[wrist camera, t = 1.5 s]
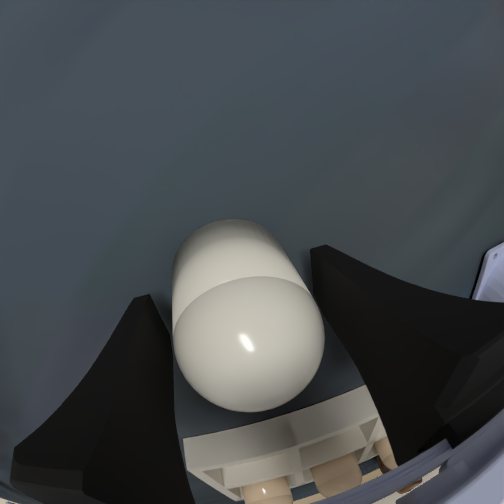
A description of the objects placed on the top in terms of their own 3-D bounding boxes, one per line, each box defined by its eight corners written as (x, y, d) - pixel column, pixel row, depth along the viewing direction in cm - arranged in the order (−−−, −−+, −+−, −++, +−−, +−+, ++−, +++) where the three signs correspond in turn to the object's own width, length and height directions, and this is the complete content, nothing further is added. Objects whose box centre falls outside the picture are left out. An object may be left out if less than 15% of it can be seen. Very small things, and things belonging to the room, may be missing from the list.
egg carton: (442, 345, 20) (460, 366, 17) (406, 418, 27) (416, 435, 25) (183, 438, 18) (187, 469, 15) (231, 481, 25) (235, 501, 23)
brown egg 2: (409, 406, 23) (435, 449, 18) (400, 423, 26) (422, 462, 21) (372, 425, 23) (396, 472, 18) (366, 440, 25) (386, 481, 20)
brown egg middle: (349, 435, 23) (372, 484, 18) (345, 449, 25) (365, 491, 20) (304, 452, 22) (324, 503, 17) (306, 463, 25) (323, 508, 20)
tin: (370, 452, 32) (392, 498, 24) (389, 441, 31) (413, 487, 24) (392, 457, 39) (410, 491, 32) (407, 447, 39) (426, 481, 32)
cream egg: (275, 205, 11) (356, 310, 6) (289, 298, 13) (345, 408, 8) (156, 238, 10) (144, 371, 5) (192, 325, 12) (208, 448, 8)
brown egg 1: (279, 459, 22) (297, 512, 17) (284, 470, 24) (299, 515, 19) (233, 471, 22) (246, 524, 17) (243, 480, 24) (255, 526, 19)
